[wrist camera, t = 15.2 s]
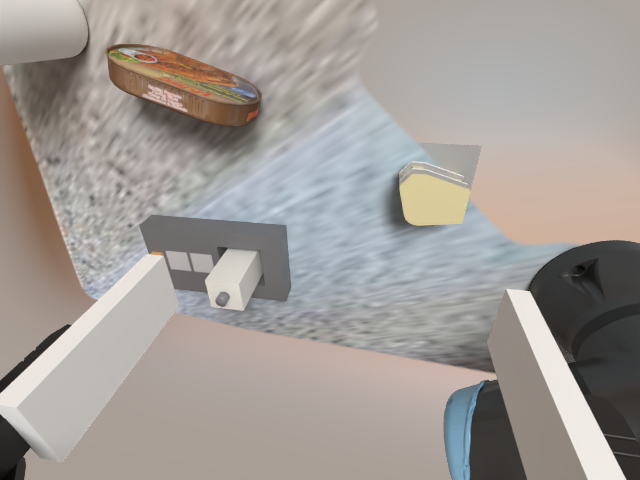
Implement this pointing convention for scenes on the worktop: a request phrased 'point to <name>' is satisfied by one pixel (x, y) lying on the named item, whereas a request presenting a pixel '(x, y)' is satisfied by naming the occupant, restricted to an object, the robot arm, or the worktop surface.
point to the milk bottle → (41, 30)
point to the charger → (234, 278)
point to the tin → (183, 84)
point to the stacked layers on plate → (439, 184)
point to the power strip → (218, 250)
